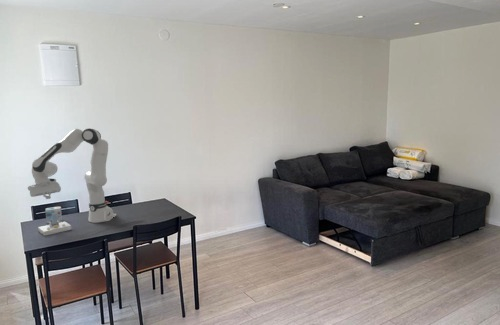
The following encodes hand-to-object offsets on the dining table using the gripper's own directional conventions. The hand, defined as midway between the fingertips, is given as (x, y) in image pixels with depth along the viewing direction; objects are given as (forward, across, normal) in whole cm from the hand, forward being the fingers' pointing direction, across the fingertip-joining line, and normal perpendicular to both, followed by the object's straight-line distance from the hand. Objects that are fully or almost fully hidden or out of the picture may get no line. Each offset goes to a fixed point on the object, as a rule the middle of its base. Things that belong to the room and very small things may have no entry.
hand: (48, 198), depth 265 cm
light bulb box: (+7, +5, +24) cm, 26 cm away
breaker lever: (+19, -1, +7) cm, 20 cm away
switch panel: (+22, -1, +9) cm, 24 cm away
